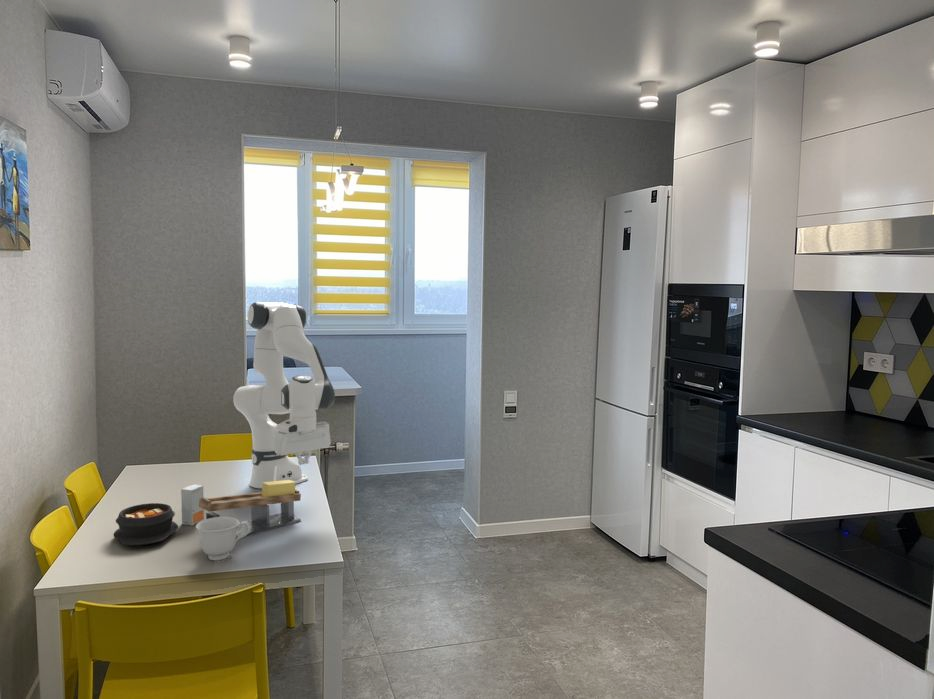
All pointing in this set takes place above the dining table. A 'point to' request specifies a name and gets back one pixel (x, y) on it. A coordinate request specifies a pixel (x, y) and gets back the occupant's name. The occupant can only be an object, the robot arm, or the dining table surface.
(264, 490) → the slider block
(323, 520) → the dining table surface
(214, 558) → the teacup
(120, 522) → the casserole
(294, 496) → the balance plank
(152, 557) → the dining table surface
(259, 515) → the fulcrum stand
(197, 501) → the skincare box
